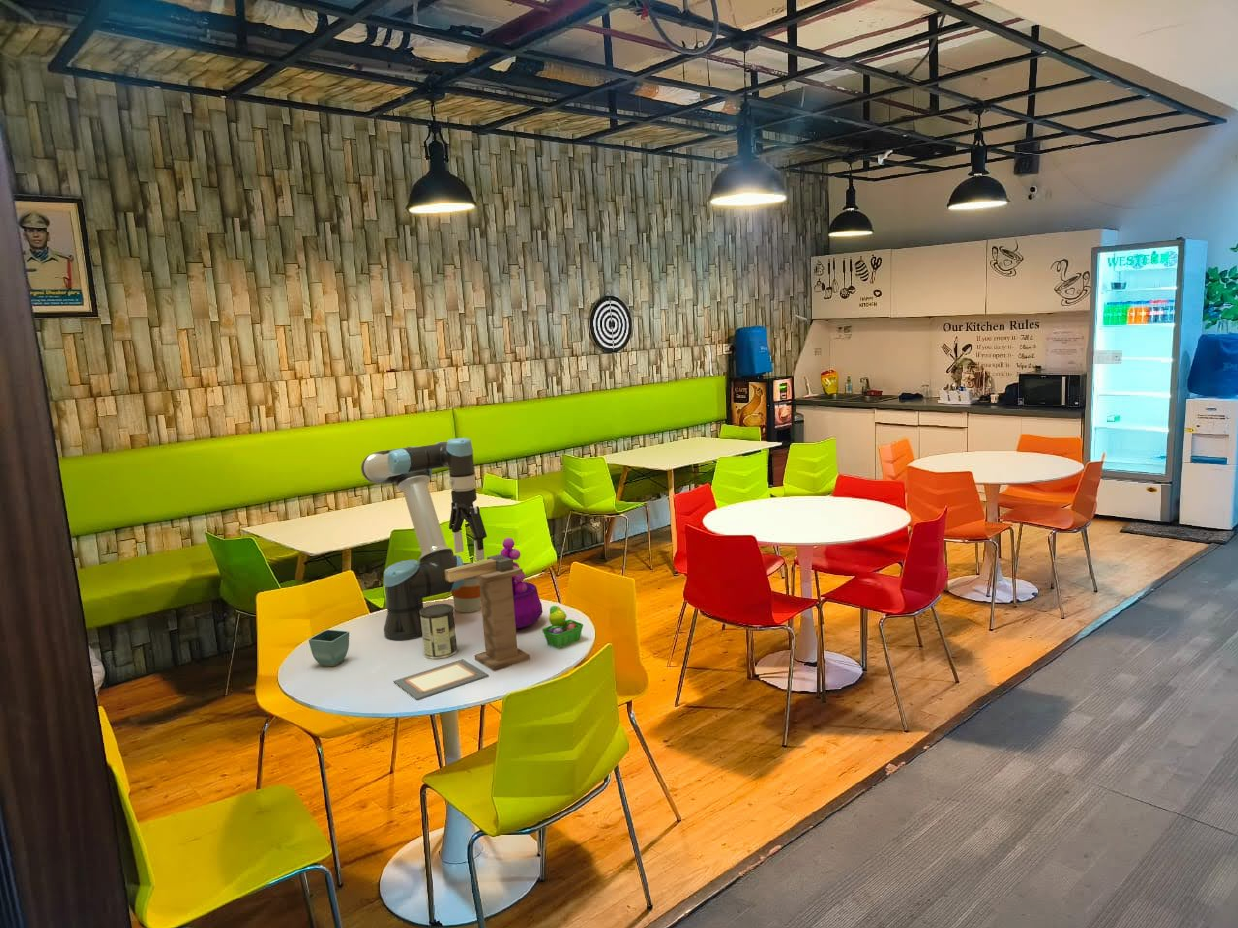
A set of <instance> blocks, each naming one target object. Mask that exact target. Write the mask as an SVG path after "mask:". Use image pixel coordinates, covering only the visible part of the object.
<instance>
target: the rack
mask: <svg viewBox="0 0 1238 928" xmlns="http://www.w3.org/2000/svg"><path fill="white" fill-rule="evenodd" d="M523 572H524V569H523V568H522V567H520V566H519V567H516V566H513V569H512V570H508V571H504V572H499V571H493V572H489V573H485V574H481V575H477V576H473V578H475V579H478V580H479V584H480V595H481V604H480V607H481V615H482V616H481V617H482V627H483V637H484V638H483V639H484V646H485V647H484V648H485V649H484V650H485V651H483V652H480V653H475V654H474V660H475V661H477V662H478V663H480V664H481V665H483V666H485V667H487V668H489V669H490V670H492V671H493V672H496V671H500V670H502V669H505V668H508V667H511V666H514V665H518V664H520V663H523V662H526V661H529V660H530V659H531V656H530V653H527V652H526V651H523V650H521V649H520V648H518V638H517V628H516V625H515V613H514V601H513V590H512V578H511V577H513V576H517V575H521V574H523Z"/></svg>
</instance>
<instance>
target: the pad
mask: <svg viewBox="0 0 1238 928" xmlns="http://www.w3.org/2000/svg"><path fill="white" fill-rule="evenodd" d="M489 676H490V675H489V674H488V673H486V672H485V671H483V670H482V669H480V668H478V667H477V666H475V665H473V664H472V663H470V662H469V661H467V660H465V659H464V658H463V659H459V660H455V661H451V662H449V663H446V664H443V665H440V666H436V667H434V668H430V669H427V670H424V671H421V672H418V673H415V674H414V673H413V674H412V675H408V676H405V677H401V678H399V679H395V680H393V682H394V683H393V682H392V683H393V684H395V685H396V684H397V685H398V686H397V685H396V686H397V687H398V688H400V687H401V688H402V689H401V688H400V689H401V690H402V691H404V690H405V691H406V692H407V693H406V692H405V691H404V692H405V693H406V694H408V693H409V694H410V695H411V697H412V696H413V697H414V698H415V699H414V698H413V697H412V698H413V699H414V700H416V701H419V700H418V699H420V700H422V699H424V697H425V698H428V697H430V696H434V695H437V694H440V693H443V692H446V691H449V690H451V689H452V690H453V689H454V688H455V689H456V688H458V687H461V686H464V685H466V684H470V683H472V682H473V683H474V682H476V681H479V680H482V679H485V678H488V677H489ZM409 694H408V695H409ZM410 695H409V696H410ZM427 696H428V697H427Z"/></svg>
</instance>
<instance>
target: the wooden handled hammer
mask: <svg viewBox="0 0 1238 928" xmlns="http://www.w3.org/2000/svg"><path fill="white" fill-rule="evenodd" d="M513 562H514V561H513ZM513 562H512V559H510V558H507V557H505V556H502V555H501V554H500V553H499V554H496V555H495V554H494V555H489V556H487V557H486V559H483V560H479V561H476V562H471V563H472V564H467V565H463V566H459V567H455V568H451V569H447V570H445V579H446V581H448V582H454V581H458V580H462V579H466V578H469V577H473V576H477V575H481V574H485V573H489V572H493V571H499V572H504V571H508V570H512V569H513Z"/></svg>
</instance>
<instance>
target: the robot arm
mask: <svg viewBox="0 0 1238 928" xmlns="http://www.w3.org/2000/svg"><path fill="white" fill-rule="evenodd" d="M473 451H474V449H473V446H472V440H471V439H470V438H467V437H458V438H457V437H456V438H451V439H448V440H447V441H440V442H436V443H435V444H428V445H423V446H407V447H402V448H395V449H394V448H393V449H387V450H379V451H376V452H374V453H371V454H368V455H367V456H366V457H365V458H364V459H363V461H362V463H361V466H360V470H361V474H362V476H363V478H364V479H365V480H366V481H368V482H370V483H372V484H375V485H388V484H389V485H390V484H395V485H396V487H397V490H399V491H400V492H402V493H403V494H404V499H405V502H406V506H407V509H408V512H409V515H410V518H411V522H412V525H413V526H412V527H413V528H414V532H415V536H416V539H417V543H418V545H419V549H420V551H421V555H420V557H419V559H418V560H416V559H408V560H401V561H398V562H395V563H393V564H391V565H389V566H388V567H387V568H385V570H384V571H383V587H384V592H385V593H384V594H385V602H386V611H387V613H386V617H385V622H384V626H383V635H384V637H385V638H386V639H387V640H392V641H407V640H412V639H416V638H420V637H423V636H422V627H421V618H420V613H419V611H420V610H421V609H422V608H424V602H423V600H424V599H425V598H429V597H434V596H438V595H443V594H445V593H446V594H448V593H451V591H454V590H457V589H459V588H461V586H462V585H463V582H464V579H462V580H458V581H454V582H448V581H446V579H445V570H447V569H451V568H455V567H459V566H463V565H464V564H463V563H464V561H463V558H461V557H462V556H461V555H457V553H462V552H464V551H465V550H464V538H463V528H462V527H463V524H464V521H465V522H467V523H468V525H469V528H470V530H471V532H472V534H473V537H474V538H473V545H474V547H473V548H474V559H475V561H476V562H480V561H484V560H486V558H485V548H484V547H485V546H484V539H486V538H487V537H488V535H487V532H486V529H485V525H484V522H483V519H482V516H481V512H480V506H479V505H478V506H474V502H475V501H477V498H478V497H477V489H476V485H477V484H476V477H475V476H476V475H475V467H474V466H475V464H474V453H473ZM443 468H448V472H449V484H450V489H452V490H451V492H450V494H451V506H450V507H451V510H450V517H449V523H448V529H449V530H451V532H452V533H453V534H452V535H453V543H454V551H453V548H450V547H448V546H447V544H446V541H445V537H444V534H443V531H442V527H441V524H440V520H439V518H438V515H437V511H436V508H435V505H434V502H433V499H432V495H431V492H430V488H429V486H428V484H429V482H430V480H431V478H430V477H432V475H433V470H435V469H443ZM454 553H455V554H454Z"/></svg>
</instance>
